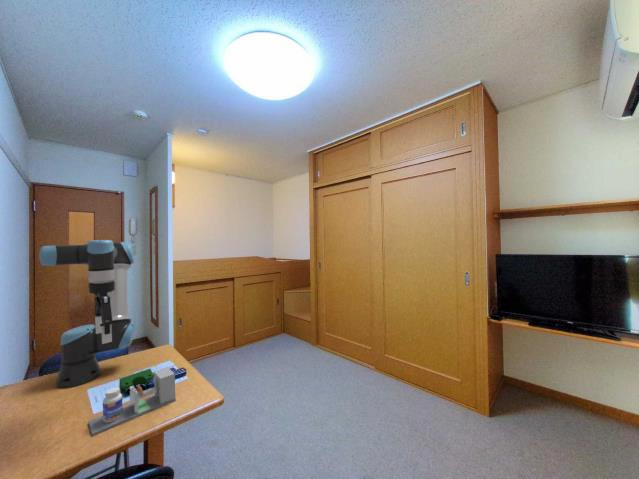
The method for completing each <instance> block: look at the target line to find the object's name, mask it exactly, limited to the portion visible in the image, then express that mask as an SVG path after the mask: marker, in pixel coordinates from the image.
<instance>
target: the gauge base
mask: <svg viewBox="0 0 639 479" xmlns="http://www.w3.org/2000/svg"><path fill="white" fill-rule="evenodd" d="M153 374H154V378H153V380H154V381H153V382H154V384H153V385H154V387H156V386H159V392H157V393H154V394H153V395H150V396H149V397H148V396H147V397H145V398H144V399H143V398H142V399H139V400H138V403H139V412H137V413H134V411H133V409H132V408H131V406H130V404H129V405H126V406H124V407H123V406H122V411H123V413H122V416H121V417H120V418H119V419H117V420H115V421H113V422H109V423H106V422H104V421H103V414H102V415H99V416H97V417H95V418H93V419H89V420H88V425H89V429H90V432H91V436H92V437H94V436H96V435H98V434H101V433H103V432H105V431H108V430H110V429H113V428H115V427H117V426H120V425H122V424H124V423H126V422H129V421H131V420H133V419H136V418H138V417H141V416H143V415H145V414H148V413H150V412H152V411H155V410H157V409H159V408H162V407H164V406H166V405H169V404H171V403H174V402H176V400H177V399H176V377H175V376H176V374H175V372H174V371H172V369H170V368H169V367H168V366H167V367H165V368H162V369H158V370H156V371H153Z"/></svg>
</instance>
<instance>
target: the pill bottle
mask: <svg viewBox="0 0 639 479" xmlns="http://www.w3.org/2000/svg"><path fill="white" fill-rule="evenodd" d="M104 396H105V397H104V398H103V400H102V415H103V421H104V422H106V423H109V422H113V421H115V420H117V419H119V418H120V417H121V416H122V413H123V411H122V408H123V394H122V392H121V391H120V388H119V386H117V387H112V388H108V389H107V390H106V391H105V395H104Z"/></svg>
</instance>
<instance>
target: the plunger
mask: <svg viewBox="0 0 639 479" xmlns="http://www.w3.org/2000/svg"><path fill="white" fill-rule="evenodd" d="M157 392H159V386H156V387H151V388H148V389H145V390H143V388H142V386H140V385H137V387H136V388H135V387H134V385H133V386H130V391H129V405H130V406H131V408H132V409H133V411H134V413H137V412H139V403H138V401H139V400H142V399H143V398H144V399H145V398H147V397H148V396H149V397H150V396H152V395H155V393H157Z"/></svg>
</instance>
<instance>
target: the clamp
mask: <svg viewBox="0 0 639 479" xmlns="http://www.w3.org/2000/svg"><path fill="white" fill-rule="evenodd" d="M150 380H151V381H153V380H154V371H153V370H152V369H151V368H148V369H145V370H141V371H139V372H136V373H131V374H130V375H126V376H124V377H120V378H119V384H118V387H119V388H120V393H125V392H127V391H126V389H128V388H129V389H130V386H133V385H134V386H136V385H138V384H145V385H147V386H148V383H147V381H150ZM151 381H150V382H151Z"/></svg>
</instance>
